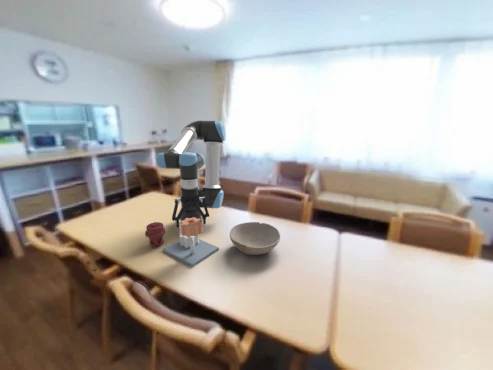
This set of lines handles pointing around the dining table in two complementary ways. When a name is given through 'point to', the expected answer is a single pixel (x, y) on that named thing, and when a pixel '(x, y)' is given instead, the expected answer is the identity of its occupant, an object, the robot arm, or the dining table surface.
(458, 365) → the dining table surface
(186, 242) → the white gear
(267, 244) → the bowl
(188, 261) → the gear board
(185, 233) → the terracotta gear
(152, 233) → the mechanical component
